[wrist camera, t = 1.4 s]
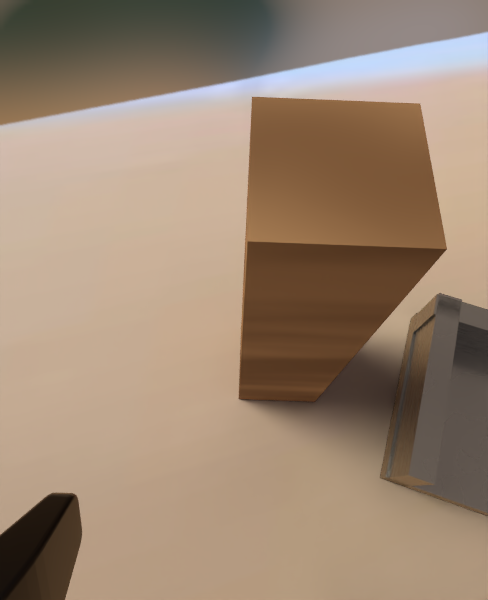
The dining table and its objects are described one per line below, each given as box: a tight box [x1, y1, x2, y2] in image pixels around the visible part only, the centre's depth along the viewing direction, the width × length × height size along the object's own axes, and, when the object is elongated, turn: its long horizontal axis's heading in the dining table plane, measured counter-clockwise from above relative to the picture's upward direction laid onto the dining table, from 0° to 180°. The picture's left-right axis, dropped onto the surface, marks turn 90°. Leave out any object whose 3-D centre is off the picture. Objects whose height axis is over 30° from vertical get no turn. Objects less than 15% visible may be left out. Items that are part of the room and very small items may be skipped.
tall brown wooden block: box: [239, 97, 447, 402], centre depth 15 cm, size 4×4×14 cm
